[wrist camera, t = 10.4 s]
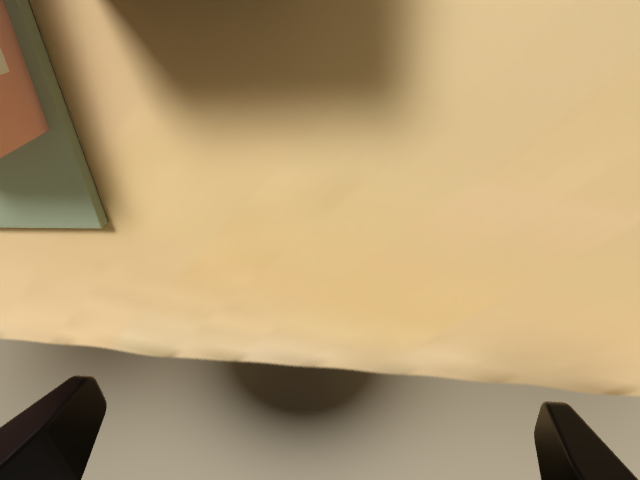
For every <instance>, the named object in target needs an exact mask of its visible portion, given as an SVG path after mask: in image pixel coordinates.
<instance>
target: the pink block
mask: <svg viewBox="0 0 640 480" xmlns="http://www.w3.org/2000/svg"><path fill="white" fill-rule="evenodd" d="M49 130H50V129H49V127H48V124H47V121H46V118H45V115H44V113H43V110H42V107H41V104H40V101H39V99H38V96H37V93H36V90H35V87H34V85H33V82H32V79H31V76H30V74H29V71H28V68H27V65H26V62H25V60H24V57H23V54H22V51H21V48H20V46H19V43H18V40H17V37H16V34H15V32H14V29H13V26H12V23H11V20H10V18H9V15H8V12H7V9H6V7H5V4H4V1H3V0H0V158H1V157H3V156H5V155H7V154H8V153H10V152H12V151H14V150H15V149H17V148H19V147H21V146H22V145H24V144H26V143H28V142H29V141H31V140H33V139H35V138H36V137H38V136H40V135H42V134H43V133H45V132H47V131H49Z"/></svg>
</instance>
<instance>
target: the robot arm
mask: <svg viewBox="0 0 640 480" xmlns="http://www.w3.org/2000/svg"><path fill="white" fill-rule="evenodd" d="M105 412H106V400H105V397H104V395H103V393H102V391H101V389H100V387H99V385H98V383H97V381H96V379H95V378H94V377H91V376H80V375H77V376H73V377H71V378H69V379H68V380H66V381H65V382H64V383H62V384H61V385H59V386H58V387H57V388H55V389H54V390H52V391H51V392H49V393H48V394H47V395H45V396H44V397H42V398H41V399H40V400H38V401H37V402H36V403H34V404H33V405H31V406H30V407H29V408H27V409H26V410H24V411H23V412H21V413H20V414H19V415H17V416H16V417H14V418H13V419H12V420H10V421H9V422H7V423H6V424H5V425H3V426H2V427H0V480H81V478H82V476H83V473H84V471H85V468H86V465H87V462H88V459H89V457H90V454H91V451H92V448H93V446H94V443H95V440H96V437H97V434H98V432H99V429H100V426H101V424H102V421H103V418H104V415H105ZM534 438H535V445H536V451H537V457H538V463H539V468H540V474H541V480H638V479H637V478H636V477H635V476H634V475H633V474H632V472H631V471H630V470H629V469H628V468H627V467H626V466H625V465H624V464H623V463H622V462H621V461H620V459H619V458H618V457H617V456H616V455H615V454H614V453H613V452H612V451H611V450H610V449H609V448H608V446H606V444H605V443H604V442H603V441H602V440H601V439H600V438H599V437H598V436H597V435H596V433H595V432H594V431H593V430H592V429H591V428H590V427H589V426H588V425H587V424H586V423H585V421H584V420H583V419H582V418H581V417H580V416H579V415H578V414H577V413H576V412H575V411H574V410H573V408H572V407H571V406H569V405H568V404H566V403H563V402H544V403H543V404H542V405H541V409H540V412H539V415H538V419H537V422H536V426H535V431H534Z"/></svg>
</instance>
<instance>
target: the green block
mask: <svg viewBox="0 0 640 480" xmlns="http://www.w3.org/2000/svg"><path fill="white" fill-rule="evenodd" d="M3 1H4V4H5V7H6V9H7V12H8V15H9V18H10V20H11V23H12V26H13V29H14V32H15V34H16V37H17V40H18V43H19V46H20V48H21V51H22V54H23V57H24V60H25V62H26V65H27V68H28V71H29V74H30V76H31V79H32V82H33V85H34V87H35V90H36V93H37V96H38V99H39V101H40V104H41V107H42V110H43V113H44V115H45V118H46V121H47V124H48V127H49V129H50V130H49V131H47V132H45V133H43V134H42V135H40V136H38V137H36V138H35V139H33V140H31V141H29V142H28V143H26V144H24V145H22V146H21V147H19V148H17V149H15V150H14V151H12V152H10V153H8V154H7V155H5V156H3V157H1V158H0V228H102V227H103V226H104V225H105V224H106V223H107V222H108V221H107V218H106V215H105V212H104V210H103V207H102V204H101V201H100V199H99V196H98V193H97V190H96V188H95V185H94V182H93V179H92V176H91V174H90V171H89V168H88V165H87V163H86V160H85V157H84V154H83V151H82V149H81V146H80V143H79V140H78V138H77V135H76V132H75V129H74V126H73V124H72V121H71V118H70V115H69V113H68V110H67V107H66V104H65V102H64V99H63V96H62V93H61V90H60V88H59V85H58V82H57V79H56V77H55V74H54V71H53V68H52V65H51V63H50V60H49V57H48V54H47V52H46V49H45V46H44V43H43V40H42V38H41V35H40V32H39V29H38V27H37V24H36V21H35V18H34V16H33V13H32V10H31V7H30V4H29V2H28V0H3Z"/></svg>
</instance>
